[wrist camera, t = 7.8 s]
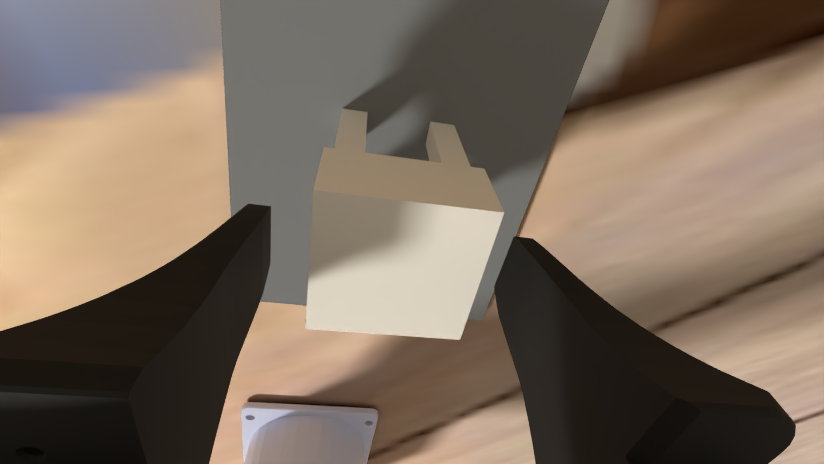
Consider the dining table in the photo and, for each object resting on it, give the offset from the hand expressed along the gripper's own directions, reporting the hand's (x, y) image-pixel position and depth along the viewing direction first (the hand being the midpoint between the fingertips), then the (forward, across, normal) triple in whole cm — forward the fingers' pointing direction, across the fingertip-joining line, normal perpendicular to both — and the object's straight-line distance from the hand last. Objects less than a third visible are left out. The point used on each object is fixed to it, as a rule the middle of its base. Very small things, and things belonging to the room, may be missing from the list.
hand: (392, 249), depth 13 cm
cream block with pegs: (+5, 0, 0) cm, 5 cm away
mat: (+6, 0, 0) cm, 6 cm away
